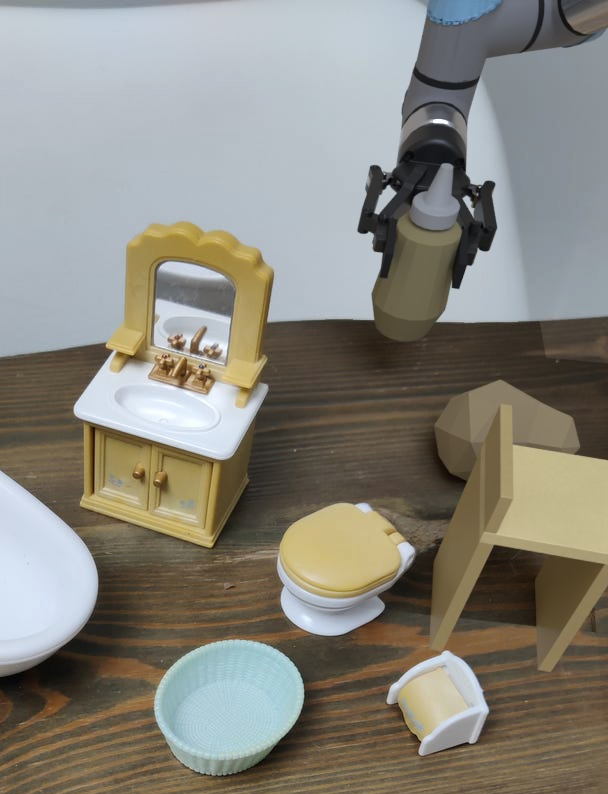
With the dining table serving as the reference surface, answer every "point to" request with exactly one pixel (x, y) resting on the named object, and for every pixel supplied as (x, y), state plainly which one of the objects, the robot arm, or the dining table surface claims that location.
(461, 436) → the low-poly potato
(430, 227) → the squeeze bottle
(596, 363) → the dining table surface
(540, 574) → the tan chair
